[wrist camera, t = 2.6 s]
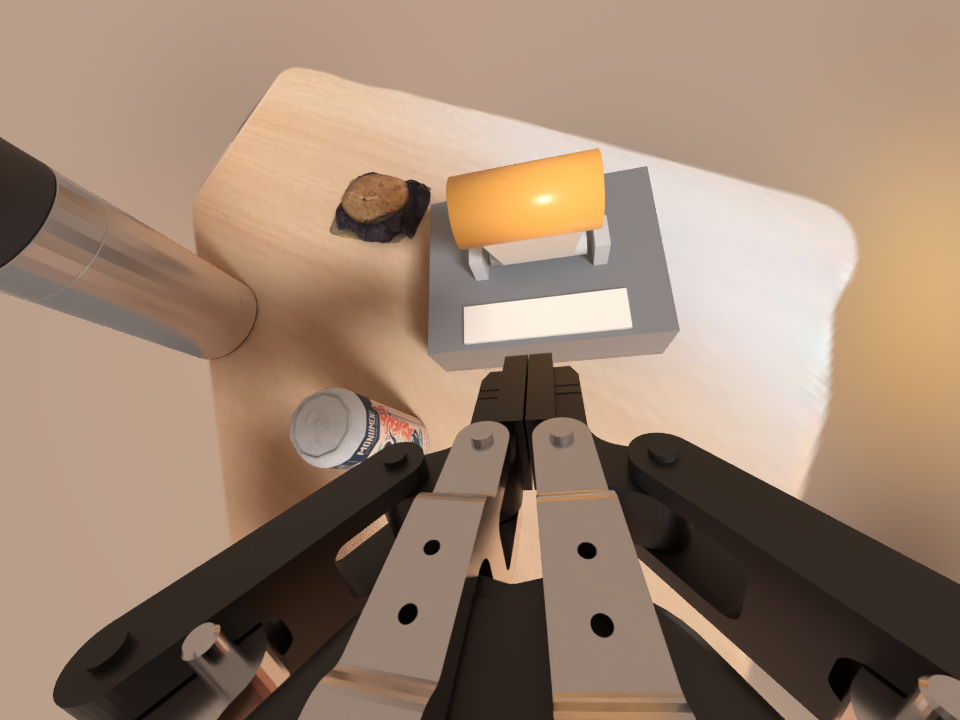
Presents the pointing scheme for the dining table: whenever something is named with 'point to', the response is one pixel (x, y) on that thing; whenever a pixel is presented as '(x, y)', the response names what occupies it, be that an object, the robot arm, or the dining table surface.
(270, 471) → the dining table surface
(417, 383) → the dining table surface
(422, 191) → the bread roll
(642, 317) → the block
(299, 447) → the beer can
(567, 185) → the breaker lever
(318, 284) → the dining table surface
